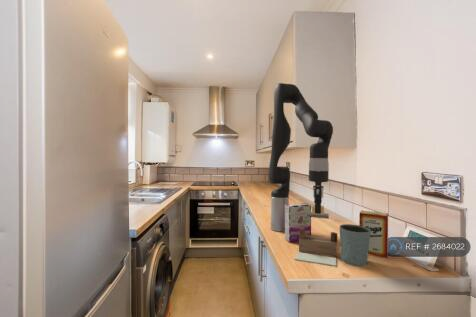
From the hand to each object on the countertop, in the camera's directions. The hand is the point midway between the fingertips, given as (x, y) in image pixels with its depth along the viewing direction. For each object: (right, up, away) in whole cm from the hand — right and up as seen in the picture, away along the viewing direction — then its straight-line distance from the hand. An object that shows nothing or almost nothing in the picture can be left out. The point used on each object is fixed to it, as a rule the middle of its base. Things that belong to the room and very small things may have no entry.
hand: (317, 212), depth 94 cm
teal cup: (+10, -16, -9) cm, 21 cm away
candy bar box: (-5, -16, +13) cm, 21 cm away
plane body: (0, -16, 0) cm, 16 cm away
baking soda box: (+22, -16, 0) cm, 27 cm away
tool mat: (-4, -15, -8) cm, 18 cm away
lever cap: (0, -2, 0) cm, 2 cm away
